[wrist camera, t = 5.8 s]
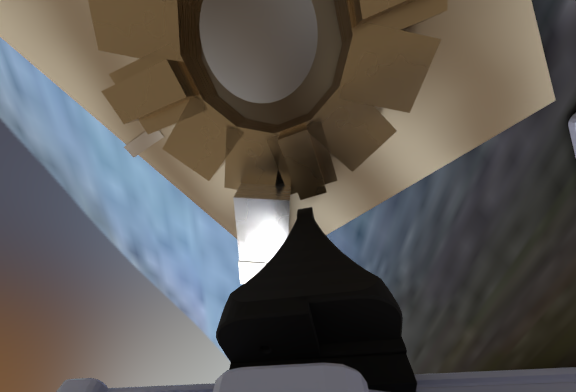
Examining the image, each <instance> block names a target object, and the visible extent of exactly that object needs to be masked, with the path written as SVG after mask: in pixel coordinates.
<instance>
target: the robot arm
mask: <svg viewBox="0 0 576 392" xmlns="http://www.w3.org/2000/svg"><path fill="white" fill-rule="evenodd" d="M568 126H569V131H570V135H571V139H572V144H573V148H574V153H575V157H576V113H575V114H574V115H573V116H572V117H571V118H570V120H569V122H568ZM402 319H403V318H402V312H401V310H400V308H399V306H398V304H397V302H396V300H395V299H394V297H393V295H392V294H391V292H390V291H389V289H388V288H387V286H386V285H385V284H384V282H383V281H382V280H381V279H380V278H379V277H377V276H375V275H374V274H372V273H370V272H368V271H367V270H365V269H363V268H362V267H361V266H359V265H358V264H356V263H355V262H354V261H352V260H351V259H350V258H349V257H347V256H346V255H345V254H343V253H342V252H341V251H340V250H339V249H338V248H337V247H336V246H335V245H334V244H333V243H332V242H331V241H330V240H329V239H328V238H327V236H326V235H325V234H324V233H323V231H322V230H321V229H320V227H319V226H318V224H317V223H316V221H315V219H314V214H313V209H312V207H309V208H303V209H298V211H297V219H296V222H295V224H294V226H293V228H292V229H291V231H290V233H289V235H288V236H287V238H286V240H285V241H284V243H283V244H282V246H281V247H280V248H279V250H278V251H277V252H276V254H275V255H274V256H273V257H272V258H271V259H270V261H269V262H268V263H267V264H266V265H265V266H264V267H263V268H262V269H261V270H260V271H259V272H257V273H256V274H255V275H254V276H253V277H252V278H251V279H249V280H248V281H247V282H246V283H244V284H243V285H242V286H240V287H239V288H238V289H236V290H235V291H234V292H232V293H231V294H230V296H229V298H228V300H227V302H226V305H225V307H224V310H223V313H222V316H221V319H220V322H219V325H218V328H217V331H216V338H217V341H218V343H219V345H220V346H221V348H222V349H223V351H224V353H225V354H226V356H227V357H228V359H229V360H230V362H231V365H230V369H229V370H227V371H226V372H225V373H223V374H222V375H221V376H220V377H219V378H218V379H217V380H216V382H215V384H196V385H195V384H193V385H174V386H173V385H171V386H151V387H150V386H149V387H128V388H107V386H106V385H105V384H104V383H103V382H101V381H99V380H97V379H94V378H93V379H92V378H82V379H68V380H65V381H64V382H63V384H62V385H61V386H60V388H59V389H58V390H57V391H56V392H576V367H569V368H547V369H525V370H502V371H480V372H458V373H436V374H414V373H413V370H412V368H411V365H410V363H409V360H408V358H407V355H406V352H407V350H406V347H405V344H404V342H403V339H402V337H401V334H402Z"/></svg>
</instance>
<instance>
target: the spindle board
mask: <svg viewBox="0 0 576 392" xmlns="http://www.w3.org/2000/svg"><path fill="white" fill-rule="evenodd" d="M447 4H448V10H447V11H445V12H443V13H441V14H438V15H436V16H434V17H432V18H430V19H428V20H425V21H423V22H421V23H419V24H417V25H414V26H412V27H409V28H407V29H404V30H402V31H407V32H411V33H416V34H420V35H425V36H429V37H434V38H438V39H441V42H440V44H439V46H438V49H437V51H436V53H435V55H434V58H433V60H432V62H431V65H430V67H429V69H428V72H427V74H426V76H425V79H424V81H423V83H422V86H421V88H420V90H419V93H418V95H417V97H416V100H415V102H414V104H413V107H412V109H411V111H410V113H407V112H402V111H397V110H392V109H387V108H382V107H377V106H374V107H375V108H376V109H377V110H378V111H379V112H380V113H381V114H382V115H383V116H384V117H385V118H386V120H387V121H388V122H389V123H390V124H391V125H392V126H393V127H394V128H395V129H396V130H397V132H395V133H394V134H393V135H392V136H391V137H390V138H389V139H388V140H387V141H386V142H385V143H384V144H382V145H381V146H380V147H379V148H378V149H377V150H376V151H375V152H374V153H373V154H372V155H371V156H369V157H368V158H367V159H366V160H365V161H364V162H363V163H362V164H361V165H360V166H359V167H358V168H356V169H355V170H354V171H353V172H352V171H351V170H350V169H348V168H347V167H346V166H345V165H344V164H343V163H342V162H341V161H340V160H338V159H337V158H336V157H335V156H334V155H333V154H332V153H331V152H330V155H331V159H332V162H333V166H334V170H335V173H336V177H337V180H338V181H335V182H331V183H328V184H325V187H326V191H327V193H324V194H320V195H317V196H313V197H310V198H306V199H303V200H300V198H299V195H298V193H295V194H291V197H290V217H289V223H290V231H291V229H292V228H293V226H294V224H295V222H296V219H297V211H298V209H303V208H309V207H312V209H313V214H314V219H315V221H316V223H317V224H318V226H319V227H320V229H321V230H322V231H323V233H324V234H325V235H327V234H329V233H330V232H332V231H334V230H336V229H337V228H339V227H341V226H342V225H344V224H346V223H348V222H349V221H351V220H353V219H354V218H356V217H358V216H359V215H361V214H363V213H365V212H366V211H368V210H370V209H371V208H373V207H375V206H376V205H378V204H380V203H382V202H383V201H385V200H387V199H388V198H390V197H392V196H394V195H395V194H397V193H399V192H400V191H402V190H404V189H405V188H407V187H409V186H411V185H412V184H414V183H416V182H417V181H419V180H421V179H422V178H424V177H426V176H428V175H429V174H431V173H433V172H434V171H436V170H438V169H439V168H441V167H443V166H445V165H446V164H448V163H450V162H451V161H453V160H455V159H457V158H458V157H460V156H462V155H463V154H465V153H467V152H468V151H470V150H472V149H474V148H475V147H477V146H479V145H480V144H482V143H484V142H485V141H487V140H489V139H491V138H492V137H494V136H496V135H497V134H499V133H501V132H503V131H504V130H506V129H508V128H509V127H511V126H513V125H514V124H516V123H518V122H520V121H521V120H523V119H525V118H526V117H528V116H530V115H531V114H533V113H535V112H537V111H538V110H540V109H542V108H543V107H545V106H547V105H548V104H550V103H552V102H554V101H555V96H554V92H553V88H552V84H551V80H550V76H549V71H548V67H547V63H546V59H545V55H544V51H543V47H542V42H541V38H540V34H539V30H538V26H537V22H536V17H535V13H534V9H533V5H532V1H531V0H447ZM199 26H200V39H201V53H202V61H203V63H204V65H205V67H206V69H207V72H208V74H209V76H210V78H211V80H212V82H213V84H214V87H215V89H216V91H217V93H218V95H219V97H221V98H222V99H223V100H224V101H225V102H227V103H228V104H229V105H230V106H231V107H233V108H234V109H235V110H236V111H237V112H239V113H240V114H241V115H242V116H243V117H245V118H246V119H250V120H255V121H260V122H265V123H271V124H276V125H279V124H281V123H284V122H287V121H290V120H292V119H295V118H298V117H300V116H303V115H306V114H308V113H309V112H310V111H311V110H312V108H313V107H314V106H315V105H316V104H317V103H318V101H319V100H320V99H321V98H322V97H323V95H324V94H325V93H326V92H327V91H328V89H329V88H330V87H331V86H332V83H333V79H334V75H335V71H336V67H337V63H338V59H339V55H340V51H341V47H342V40H341V35H340V30H339V25H338V20H337V15H336V10H335V5H334V0H203V2H202V6H201V12H200V22H199ZM0 37H1V38H2V39H3V40H5V41H6V42H7V43H8V44H9V45H10V46H12V47H13V48H14V49H15V50H16V51H17V52H19V53H20V54H21V55H22V56H23V57H24V58H26V59H27V60H28V61H29V62H30V63H31V64H33V65H34V66H35V67H36V68H37V69H38V70H40V71H41V72H42V73H43V74H44V75H46V76H47V77H48V78H49V79H50V80H51V81H53V82H54V83H55V84H56V85H57V86H58V87H60V88H61V89H62V90H63V91H64V92H65V93H67V94H68V95H69V96H70V97H71V98H72V99H74V100H75V101H76V102H77V103H78V104H79V105H81V106H82V107H83V108H84V109H85V110H87V111H88V112H89V113H90V114H91V115H92V116H94V117H95V118H96V119H97V120H98V121H99V122H101V123H102V124H103V125H104V126H105V127H106V128H108V129H109V130H110V131H111V132H112V133H113V134H115V135H116V136H117V137H118V138H119V139H120V140H122V141H123V142H124V143H125V144H126V146H125V147H124V148H125V149H126V150H127V151H128V152H129V153H130V154H131V155H132V156H133V157H136V156H137V155H139V156H140V157H142V158H143V159H144V160H145V161H146V162H147V163H149V164H150V165H151V166H152V167H153V168H154V169H156V170H157V171H158V172H159V173H160V174H162V175H163V176H164V177H165V178H166V179H167V180H169V181H170V182H171V183H172V184H173V185H174V186H176V187H177V188H178V189H179V190H180V191H181V192H183V193H184V194H185V195H186V196H187V197H188V198H190V199H191V200H192V201H193V202H194V203H195V204H197V205H198V206H199V207H200V208H201V209H203V210H204V211H205V212H206V213H207V214H208V215H210V216H211V217H212V218H213V219H214V220H215V221H217V222H218V223H219V224H220V225H221V226H222V227H224V228H225V229H226V230H227V231H228V232H229V233H231V234H232V235H233V236H234V237H235V238H236V239H237V230H236V220H235V210H234V200H233V197H234V195H235V193H236V192H237V190H235V189H230V188H224V182H225V163H224V164H223V166H222V167H221V168H220V169H219V170H218V171H217V173H216V174H215V175H214V176H213V177H212V178H211V180H210V181H208V180H206V179H205V178H204V177H202V176H201V175H199V174H198V173H196V172H195V171H193V170H192V169H191V168H189V167H188V166H186V165H185V164H183V163H182V162H180V161H179V160H177V159H176V158H175V157H173V156H172V155H170V154H169V153H167V152H166V151H164V150H163V149H162V148H163V146H164V145H165V143H166V141H167V139H168V137H169V136H170V134H171V132H172V130H173V128H174V127H175V125H176V124H175V125H172V126H170V127H167V128H164V129H162V130H159V131H156V132H154V133H151V134H147V132H146V131H145V129H144V128H143V126H142V125H141V123H140V121H135V122H131V123H127V124H123V122H122V121H121V119H120V118H119V116H118V115H117V113H116V112H115V110H114V109H113V108H112V106H111V105H110V103H109V102H108V100H107V99H106V97H105V96H104V95H103V93H102V92H101V91H103V90H105V89H107V88H109V87H111V86H113V85H115V83H114V82H113V80H112V79H111V77H110V76H109V74H110V73H112V72H114V71H116V70H118V69H120V68H122V67H124V66H126V65H128V64H130V63H132V62H134V61H136V60H138V59H139V58H134V57H129V56H124V55H119V54H114V53H109V52H104V51H99V50H98V46H97V41H96V36H95V31H94V27H93V22H92V17H91V12H90V8H89V3H88V0H0Z"/></svg>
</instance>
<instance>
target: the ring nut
mask: <svg viewBox="0 0 576 392" xmlns="http://www.w3.org/2000/svg"><path fill="white" fill-rule="evenodd" d="M202 2H203V0H88V3H89V8H90V12H91V17H92V22H93V27H94V31H95V36H96V41H97V46H98V50H99V51H104V52H109V53H114V54H119V55H124V56H129V57H134V58H139V59H138V60H136V61H134V62H132V63H130V64H128V65H126V66H124V67H122V68H120V69H118V70H116V71H114V72H112V73H110V74H109V76H110V77H111V79H112V80H113V82H114V83H115V85H113V86H111V87H109V88H107V89H105V90H103V91H101V92H102V93H103V95H104V96H105V97H106V99H107V100H108V102H109V103H110V105H111V106H112V108H113V109H114V110H115V112H116V113H117V115H118V116H119V118H120V119H121V121H122V122H123V124H127V123H131V122H135V121H140V123H141V125H142V126H143V128H144V129H145V131H146V132H147V134H151V133H154V132H156V131H159V130H162V129H164V128H167V127H170V126H172V125H175V124H176V125H175V127H174V128H173V130H172V132H171V134H170V136H169V137H168V139H167V141H166V143H165V145H164V146H163V148H162V149H163V150H164V151H166V152H167V153H169V154H170V155H172V156H173V157H175V158H176V159H177V160H179V161H180V162H182V163H183V164H185V165H186V166H188V167H189V168H191V169H192V170H193V171H195V172H196V173H198V174H199V175H201V176H202V177H204V178H205V179H206V180H208V181H210V180H211V178H212V177H213V176H214V175H215V174H216V173H217V171H218V170H219V169H220V168H221V167H222V166H223V164H224V163H225V182H224V188H230V189H235V190H237V192H236V193H235V195H234V197H233V200H234V210H235V220H236V230H237V240H238V250H239V262H238V263H239V273H240V283H241V284H244V283H246V282H247V281H248V280H249V279H251V278H252V277H253V276H254V275H255V274H256V273H257V272H259V271H260V270H261V269H262V268H263V267H264V266H265V265H266V264H267V263H268V262H269V261H270V259H271V258H272V257H273V256H274V255H275V254H276V252H277V251H278V250H279V248H280V247H281V246H282V244H283V243H284V241H285V240H286V238H287V236H288V235H289V233H290V223H289V217H290V197H291V194H295V193H298V195H299V198H300V200H303V199H306V198H310V197H313V196H317V195H320V194H324V193H327V191H326V187H325V184H328V183H331V182H335V181H338V180H337V177H336V173H335V170H334V166H333V162H332V159H331V155H330V152H331V153H332V154H333V155H334V156H335V157H336V158H337V159H338V160H340V161H341V162H342V163H343V164H344V165H345V166H346V167H347V168H348V169H350V170H351V171H352V172H353V171H354V170H355V169H356V168H358V167H359V166H360V165H361V164H362V163H363V162H364V161H365V160H366V159H367V158H368V157H369V156H371V155H372V154H373V153H374V152H375V151H376V150H377V149H378V148H379V147H380V146H381V145H382V144H384V143H385V142H386V141H387V140H388V139H389V138H390V137H391V136H392V135H393V134H394V133H395V132H397V130H396V129H395V128H394V127H393V126H392V125H391V124H390V123H389V122H388V121H387V120H386V118H385V117H384V116H383V115H382V114H381V113H380V112H379V111H378V110H377V109H376V108H375V107H374V106H377V107H382V108H387V109H392V110H397V111H402V112H407V113H410V111H411V109H412V107H413V104H414V102H415V100H416V97H417V95H418V93H419V90H420V88H421V86H422V83H423V81H424V79H425V76H426V74H427V72H428V69H429V67H430V65H431V62H432V60H433V58H434V55H435V53H436V51H437V49H438V46H439V44H440V42H441V39H438V38H434V37H429V36H425V35H420V34H416V33H411V32H407V31H402V30H404V29H407V28H409V27H412V26H414V25H417V24H419V23H421V22H423V21H425V20H428V19H430V18H432V17H434V16H436V15H438V14H441V13H443V12H445V11H447V10H448V4H447V0H334V5H335V10H336V15H337V20H338V25H339V30H340V35H341V40H342V47H341V51H340V55H339V59H338V63H337V67H336V71H335V75H334V79H333V83H332V86H331V87H330V88H329V89H328V91H327V92H326V93H325V94H324V95H323V97H322V98H321V99H320V100H319V101H318V103H317V104H316V105H315V106H314V107H313V108H312V110H311V111H310V112H309V113H308V114H306V115H303V116H300V117H298V118H295V119H292V120H290V121H287V122H284V123H281V124H279V125H276V124H271V123H265V122H260V121H255V120H250V119H246V118H245V117H243V116H242V115H241V114H240V113H239V112H237V111H236V110H235V109H234V108H233V107H231V106H230V105H229V104H228V103H227V102H225V101H224V100H223V99H222V98H221V97H219V95H218V93H217V91H216V89H215V87H214V84H213V82H212V80H211V78H210V76H209V74H208V72H207V69H206V67H205V65H204V63H203V61H202V53H201V39H200V26H199V22H200V12H201V6H202Z"/></svg>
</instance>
